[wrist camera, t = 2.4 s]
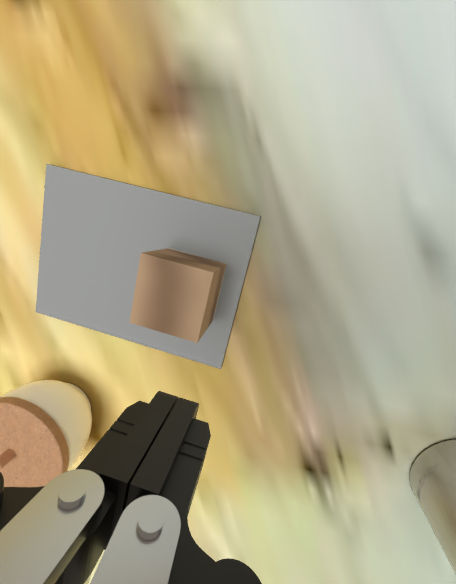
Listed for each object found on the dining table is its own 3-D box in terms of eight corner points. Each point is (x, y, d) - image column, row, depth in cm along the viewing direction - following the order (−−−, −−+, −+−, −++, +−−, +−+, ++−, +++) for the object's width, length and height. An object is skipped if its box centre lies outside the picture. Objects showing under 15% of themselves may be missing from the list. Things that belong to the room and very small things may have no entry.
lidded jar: (31, 431, 37) (-49, 497, 28) (29, 356, 34) (-60, 401, 25) (107, 451, 35) (49, 527, 26) (110, 374, 33) (48, 429, 24)
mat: (260, 216, 26) (260, 216, 26) (221, 367, 30) (220, 369, 30) (49, 164, 29) (46, 163, 28) (38, 310, 33) (35, 311, 32)
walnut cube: (226, 263, 27) (213, 272, 22) (213, 320, 29) (197, 343, 23) (168, 248, 28) (140, 252, 22) (158, 304, 29) (129, 322, 24)
